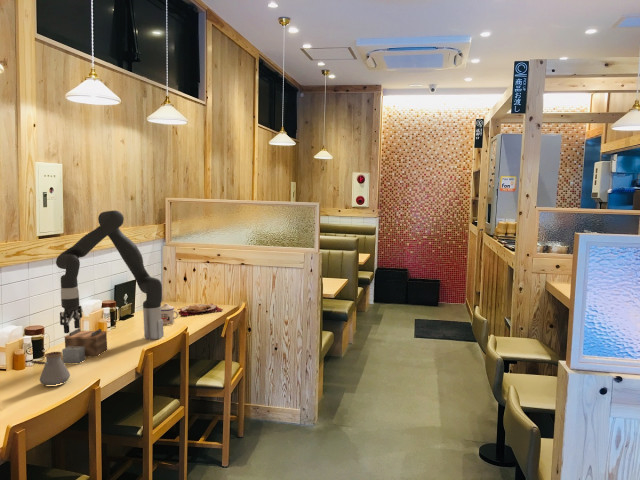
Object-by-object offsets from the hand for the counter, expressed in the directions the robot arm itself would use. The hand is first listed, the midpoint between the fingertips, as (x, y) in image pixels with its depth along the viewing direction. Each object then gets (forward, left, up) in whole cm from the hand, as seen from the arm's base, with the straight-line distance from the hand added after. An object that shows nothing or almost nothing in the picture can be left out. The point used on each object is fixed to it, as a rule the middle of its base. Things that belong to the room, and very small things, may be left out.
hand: (72, 330), depth 239 cm
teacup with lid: (-19, -71, -16) cm, 75 cm away
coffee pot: (-7, +31, -16) cm, 35 cm away
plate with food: (-27, -102, -16) cm, 107 cm away
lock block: (0, 0, -15) cm, 15 cm away
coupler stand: (+1, -13, -15) cm, 20 cm away
